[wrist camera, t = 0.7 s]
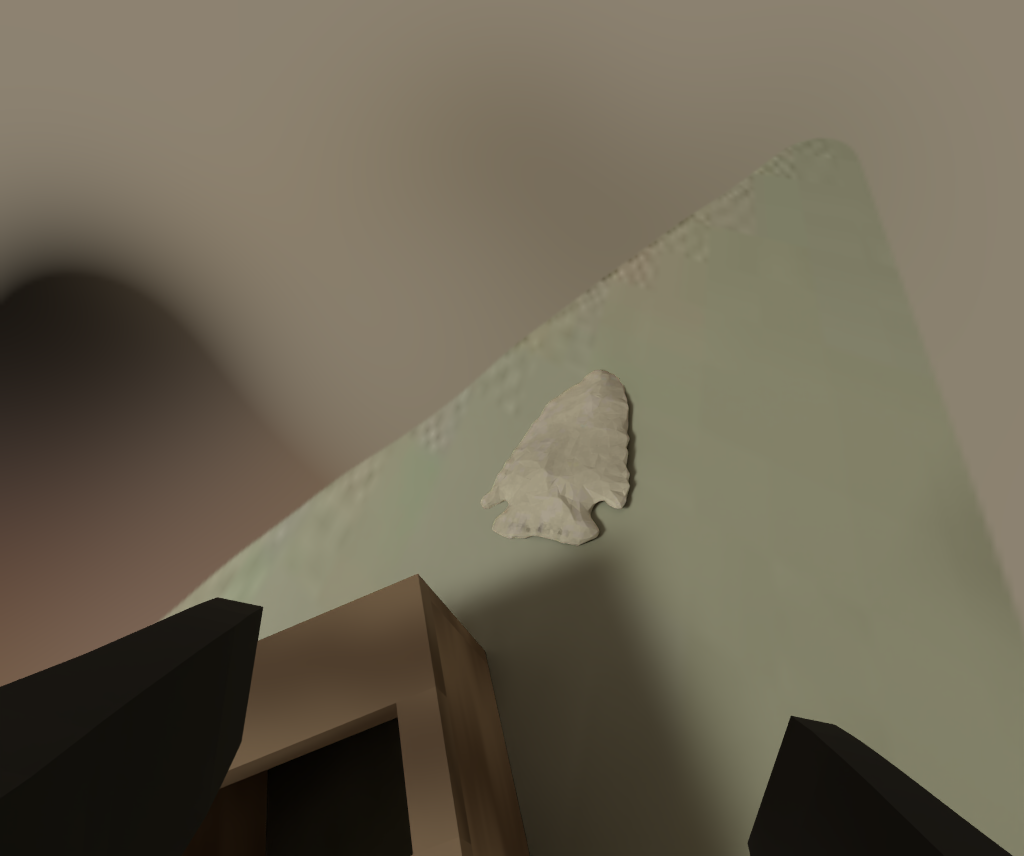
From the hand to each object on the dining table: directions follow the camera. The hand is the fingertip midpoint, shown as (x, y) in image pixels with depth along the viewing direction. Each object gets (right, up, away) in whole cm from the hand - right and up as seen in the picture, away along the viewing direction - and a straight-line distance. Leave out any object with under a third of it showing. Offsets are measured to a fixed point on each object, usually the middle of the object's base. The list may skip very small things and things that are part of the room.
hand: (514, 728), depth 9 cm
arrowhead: (+3, +3, +24) cm, 24 cm away
